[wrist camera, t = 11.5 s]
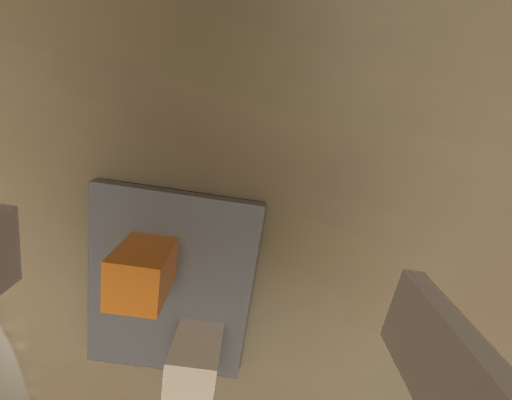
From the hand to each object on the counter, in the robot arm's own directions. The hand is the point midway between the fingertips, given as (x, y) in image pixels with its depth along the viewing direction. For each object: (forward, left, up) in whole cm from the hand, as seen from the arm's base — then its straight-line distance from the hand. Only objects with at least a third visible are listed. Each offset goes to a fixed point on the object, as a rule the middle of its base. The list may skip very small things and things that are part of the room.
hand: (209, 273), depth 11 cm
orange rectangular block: (+11, -8, -22) cm, 26 cm away
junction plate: (+15, -6, -23) cm, 28 cm away
